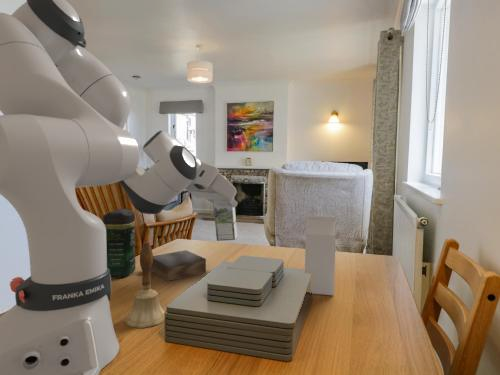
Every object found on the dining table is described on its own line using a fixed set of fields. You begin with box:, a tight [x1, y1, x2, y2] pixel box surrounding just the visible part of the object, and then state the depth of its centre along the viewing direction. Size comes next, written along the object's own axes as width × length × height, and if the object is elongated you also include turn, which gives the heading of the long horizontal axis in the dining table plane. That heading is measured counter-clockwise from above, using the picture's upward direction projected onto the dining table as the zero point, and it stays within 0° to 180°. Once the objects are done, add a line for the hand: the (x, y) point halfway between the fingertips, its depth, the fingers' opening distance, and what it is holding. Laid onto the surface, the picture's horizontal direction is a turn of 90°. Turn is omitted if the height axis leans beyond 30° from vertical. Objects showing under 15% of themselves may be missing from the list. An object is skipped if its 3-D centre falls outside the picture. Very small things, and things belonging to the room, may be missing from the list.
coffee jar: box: [102, 208, 137, 279], centre depth 99 cm, size 10×8×19 cm
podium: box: [150, 249, 207, 282], centre depth 102 cm, size 12×12×4 cm
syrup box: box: [212, 200, 238, 242], centre depth 104 cm, size 6×6×14 cm
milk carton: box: [304, 214, 337, 296], centre depth 88 cm, size 7×7×19 cm
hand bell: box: [125, 241, 166, 329], centre depth 71 cm, size 8×8×16 cm
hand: (226, 204), depth 104 cm, fingers closed on syrup box, 8 cm apart
